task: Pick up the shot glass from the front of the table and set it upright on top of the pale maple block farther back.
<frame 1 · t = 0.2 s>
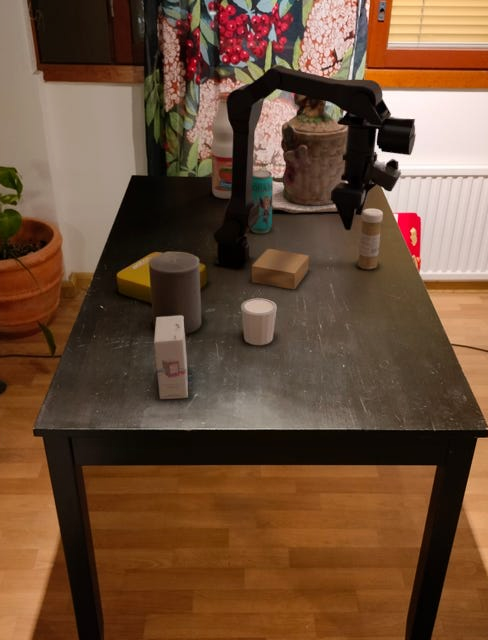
hand: (353, 222, 151), 15 cm above the table, tool pointing down, fingers open, 9 cm apart
fruit juice: (228, 194, 207), on the table
pillar candle: (177, 324, 143), on the table
shot glass: (258, 338, 139), on the table
ink box: (173, 386, 125), on the table
cookie jar: (311, 199, 204), on the table
maple block: (280, 276, 161), on the table
sprinkles bottle: (367, 266, 167), on the table
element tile: (163, 288, 156), on the table
beverage can: (260, 231, 184), on the table
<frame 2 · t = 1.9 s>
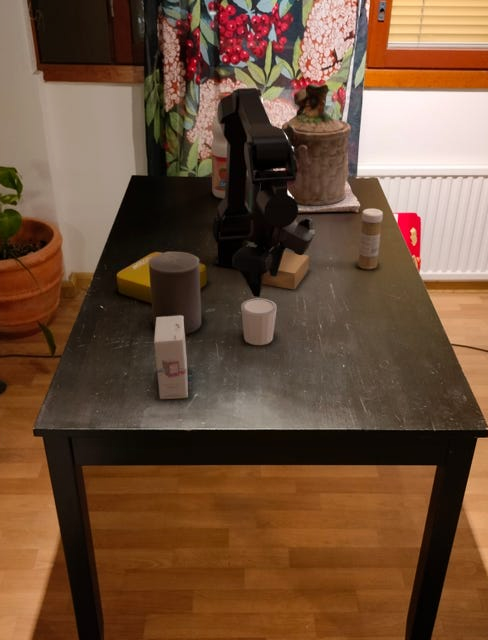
hand: (265, 286, 134), 11 cm above the table, tool pointing down, fingers open, 9 cm apart
nothing on the table moved.
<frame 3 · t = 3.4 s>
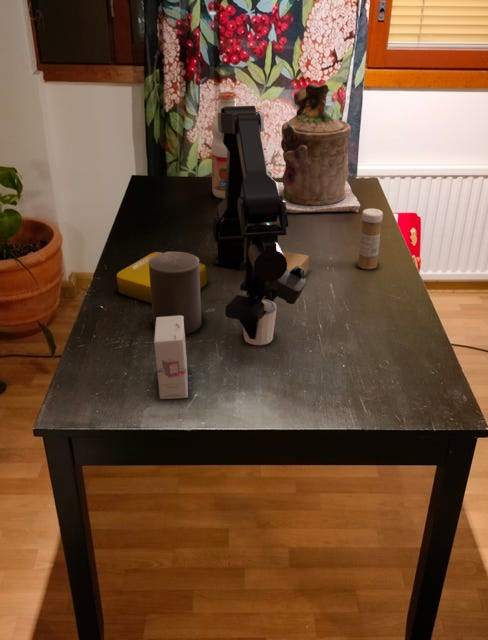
hand: (258, 331, 138), 2 cm above the table, tool pointing down, fingers closed on shot glass, 6 cm apart
shot glass: (258, 338, 139), on the table, touching gripper
everything else where it was.
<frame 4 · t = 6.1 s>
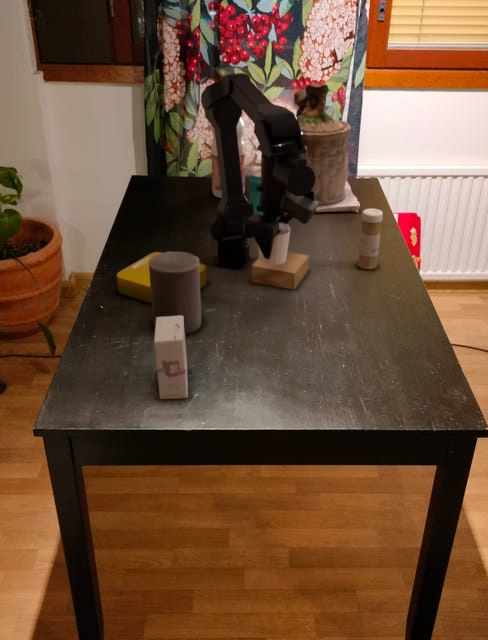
hand: (272, 252, 147), 11 cm above the table, tool pointing down, fingers closed on shot glass, 6 cm apart
shot glass: (272, 260, 148), point 9 cm above the table, touching gripper
everything else where it was.
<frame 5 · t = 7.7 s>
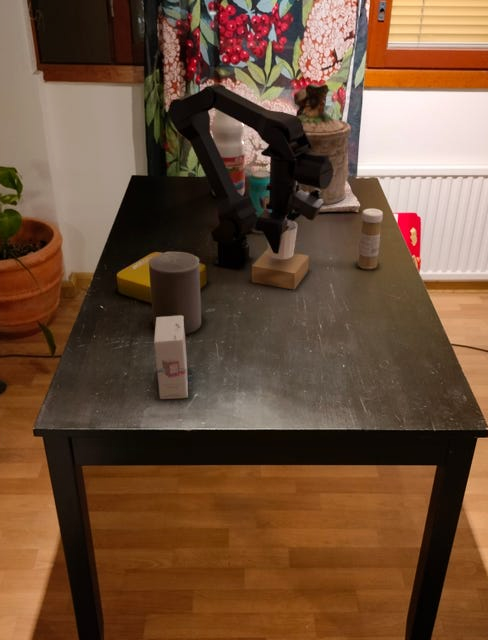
hand: (280, 247, 158), 7 cm above the table, tool pointing down, fingers closed on shot glass, 6 cm apart
shot glass: (280, 254, 159), point 5 cm above the table, touching gripper
everything else where it was.
when the fingers open (5 cm above the table, at t = 8.7 s): shot glass stays where it is, resting on maple block.
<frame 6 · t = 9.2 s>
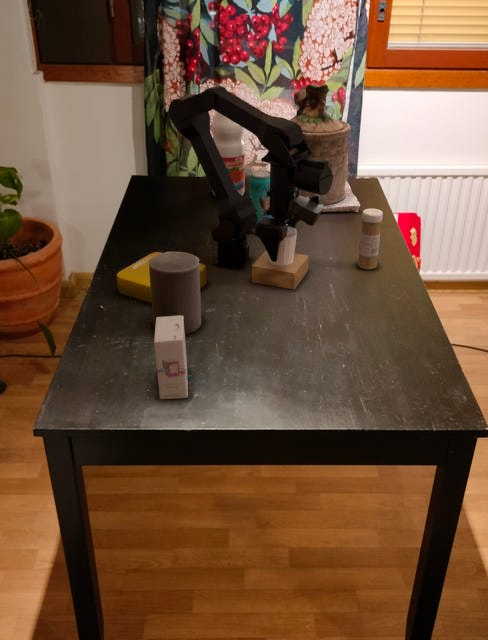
hand: (281, 253, 158), 6 cm above the table, tool pointing down, fingers open, 9 cm apart
shot glass: (280, 261, 159), point 4 cm above the table, touching maple block
everything else where it was.
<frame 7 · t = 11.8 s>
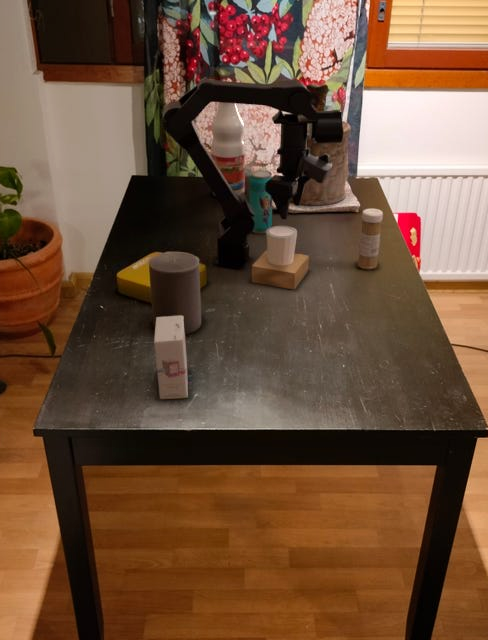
hand: (290, 212, 162), 12 cm above the table, tool pointing down, fingers open, 9 cm apart
nothing on the table moved.
at the end: shot glass 0.0 cm off-centre on the maple block, point 3.8 cm above the maple block's base; shot glass tilted 0°; the gripper is holding nothing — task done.
